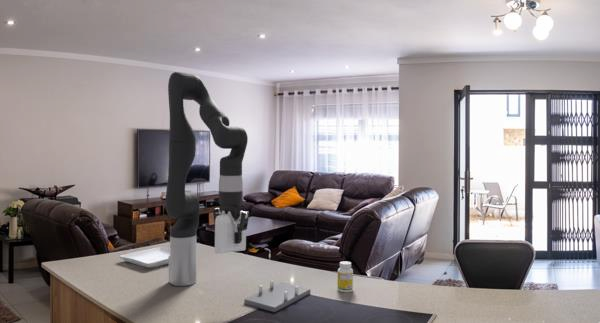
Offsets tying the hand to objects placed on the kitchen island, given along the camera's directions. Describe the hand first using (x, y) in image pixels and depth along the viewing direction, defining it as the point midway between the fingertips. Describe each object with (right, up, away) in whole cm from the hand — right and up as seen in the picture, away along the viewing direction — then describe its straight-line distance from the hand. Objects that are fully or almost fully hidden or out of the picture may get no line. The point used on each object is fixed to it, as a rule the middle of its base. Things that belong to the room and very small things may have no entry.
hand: (230, 241), depth 137 cm
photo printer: (0, -3, 0) cm, 3 cm away
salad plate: (-40, -18, +47) cm, 64 cm away
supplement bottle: (+38, -19, +12) cm, 44 cm away
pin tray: (+15, -19, +4) cm, 25 cm away
